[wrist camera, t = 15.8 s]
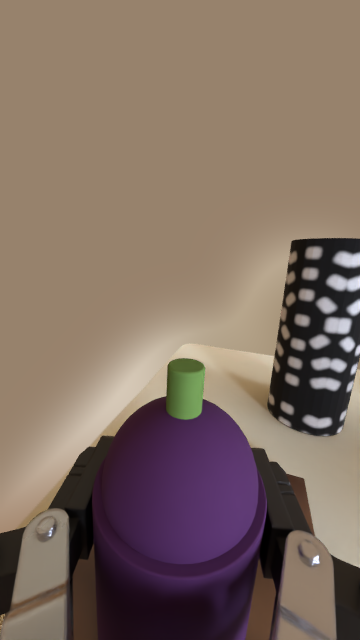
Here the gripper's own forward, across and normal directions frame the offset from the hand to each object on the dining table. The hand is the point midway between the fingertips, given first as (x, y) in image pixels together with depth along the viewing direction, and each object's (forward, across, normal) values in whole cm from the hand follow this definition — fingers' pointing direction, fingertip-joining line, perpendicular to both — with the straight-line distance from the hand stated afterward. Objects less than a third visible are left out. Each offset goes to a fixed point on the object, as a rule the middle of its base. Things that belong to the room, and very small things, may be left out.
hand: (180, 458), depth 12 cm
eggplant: (-2, 0, +7) cm, 7 cm away
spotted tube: (+18, -15, +9) cm, 25 cm away
